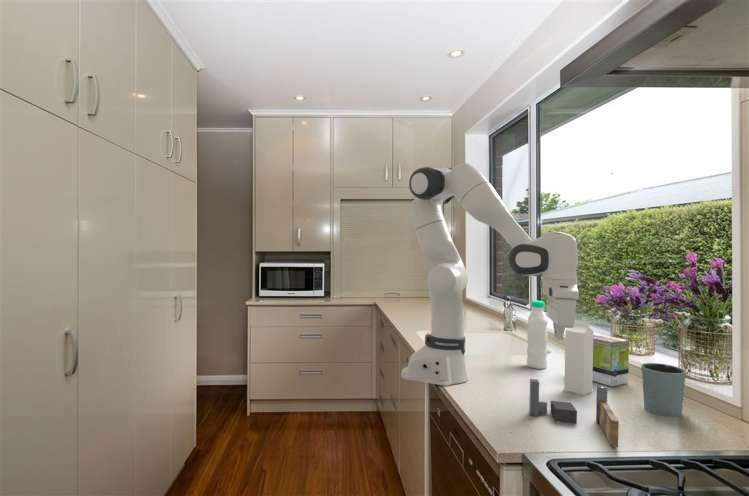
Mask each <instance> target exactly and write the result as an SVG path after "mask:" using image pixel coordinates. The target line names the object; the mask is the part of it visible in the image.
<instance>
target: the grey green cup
mask: <svg viewBox="0 0 749 496" xmlns="http://www.w3.org/2000/svg"><path fill="white" fill-rule="evenodd" d="M640 366H641V375H642V387H643V389H642V391H643V393H642V394H643V407H644V409H645V410H646V411H648V412H650V413H652V414H655V415H659V416H664V417H670V418H679V417H682V415H683V403H684V396H685V384H686V376H687V371H686V370H685V369H684V368H682V367H679V366H676V365H675V366H674V365H671V364H666V363H656V362H645V363H642V364H641V365H640Z"/></svg>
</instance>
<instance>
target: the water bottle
mask: <svg viewBox="0 0 749 496" xmlns="http://www.w3.org/2000/svg"><path fill="white" fill-rule="evenodd" d="M530 305H531V310H532V311H531V312H530V314H529V315H528V317H527V323H528V324H527V349H526V350H527V351H526V353H527V357H526V365H527V367H529V368H531V369H535V370H545V369H546V368H547V366H548V361H547V358H548V357H547V356H548V350H547V348H548V322H549V320H548V316H547V315H546V313H545V311H544V309H545V307H546V303H545V302H544V301H543V300H532V301H531V303H530Z"/></svg>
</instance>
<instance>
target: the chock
mask: <svg viewBox="0 0 749 496" xmlns="http://www.w3.org/2000/svg"><path fill="white" fill-rule="evenodd" d="M550 414H551V416H552V419H553V420H554V422H555V423H563V424H565V423H566V424H573V425H577V423H578V422H577V421H578V410H577V409H576V408H575V406H574V405H573V404H572V402H570V401H569V402H568V401H559V400H550Z"/></svg>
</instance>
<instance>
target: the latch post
mask: <svg viewBox="0 0 749 496" xmlns="http://www.w3.org/2000/svg"><path fill="white" fill-rule="evenodd" d="M528 405H529V408H528V409H529V413H528V414H529V416H530V417H536V418H537V417H539V414H540V415H548V402H547V401H542V400H540V381H539V379H537V378H536V379H533V378H529V404H528Z"/></svg>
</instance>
